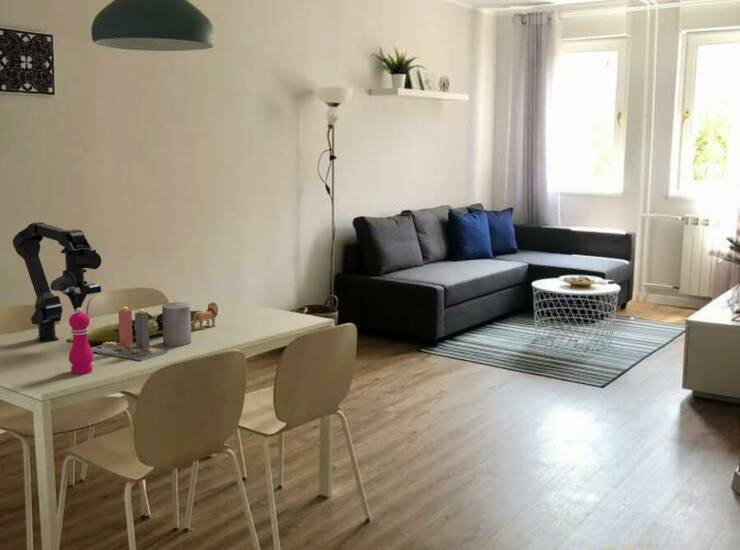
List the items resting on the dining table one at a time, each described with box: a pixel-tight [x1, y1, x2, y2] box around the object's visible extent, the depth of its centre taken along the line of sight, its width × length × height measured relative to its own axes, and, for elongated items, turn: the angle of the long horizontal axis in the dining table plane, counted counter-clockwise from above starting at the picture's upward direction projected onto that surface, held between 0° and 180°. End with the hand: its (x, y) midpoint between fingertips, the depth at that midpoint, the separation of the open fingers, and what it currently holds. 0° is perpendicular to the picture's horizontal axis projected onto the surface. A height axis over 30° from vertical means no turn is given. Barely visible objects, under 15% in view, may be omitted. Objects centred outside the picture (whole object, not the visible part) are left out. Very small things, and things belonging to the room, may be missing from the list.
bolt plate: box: [91, 341, 168, 362], centre depth 272 cm, size 24×12×2 cm, turn 61°
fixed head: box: [133, 309, 150, 353], centre depth 268 cm, size 3×5×14 cm, turn 151°
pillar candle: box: [161, 301, 192, 347], centre depth 285 cm, size 10×10×15 cm
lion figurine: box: [191, 301, 219, 331], centre depth 309 cm, size 15×5×9 cm, turn 156°
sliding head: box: [116, 306, 134, 350], centre depth 272 cm, size 3×5×14 cm, turn 151°
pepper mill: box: [68, 308, 95, 375], centre depth 247 cm, size 7×7×20 cm
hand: (77, 311), depth 279 cm, fingers closed
